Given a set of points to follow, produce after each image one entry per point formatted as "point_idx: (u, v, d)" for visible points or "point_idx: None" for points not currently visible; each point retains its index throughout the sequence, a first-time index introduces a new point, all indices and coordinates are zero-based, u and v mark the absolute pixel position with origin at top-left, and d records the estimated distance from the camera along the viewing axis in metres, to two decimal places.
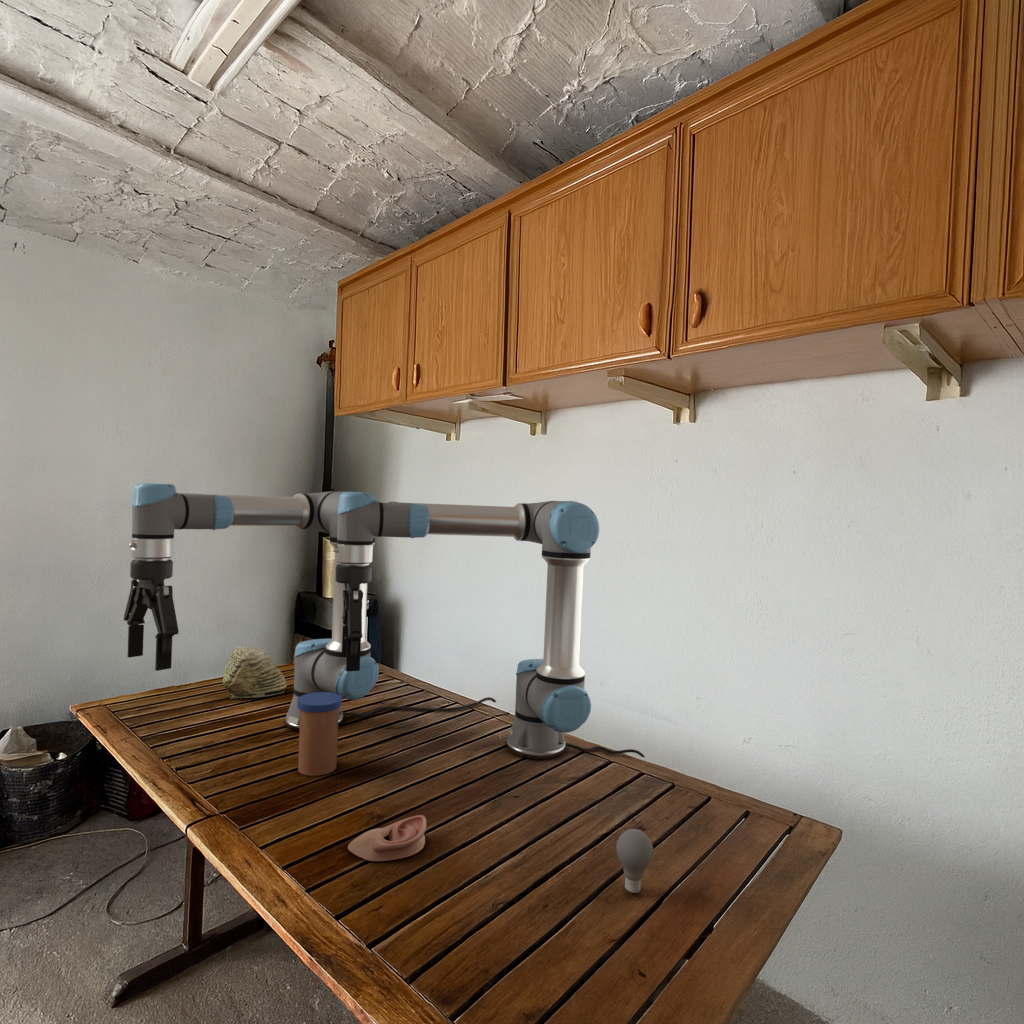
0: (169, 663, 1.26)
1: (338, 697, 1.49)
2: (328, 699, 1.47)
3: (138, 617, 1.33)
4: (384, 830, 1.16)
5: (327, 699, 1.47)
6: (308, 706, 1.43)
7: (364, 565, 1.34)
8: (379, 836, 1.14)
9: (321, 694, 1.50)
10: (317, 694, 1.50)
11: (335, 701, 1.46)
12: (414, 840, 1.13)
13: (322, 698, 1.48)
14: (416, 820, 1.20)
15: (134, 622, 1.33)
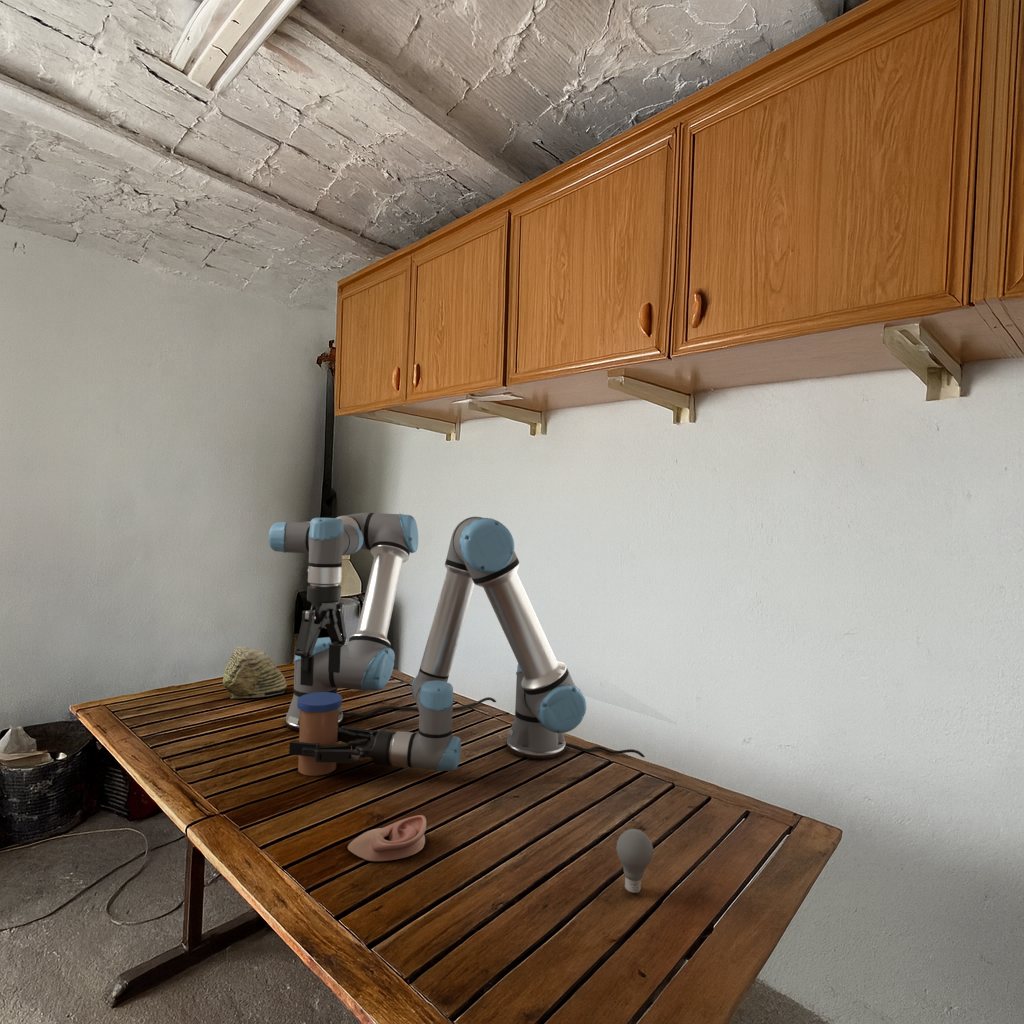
0: (309, 681, 1.41)
1: (338, 697, 1.49)
2: (328, 699, 1.47)
3: (334, 637, 1.52)
4: (384, 830, 1.16)
5: (327, 699, 1.47)
6: (308, 706, 1.43)
7: None
8: (379, 836, 1.14)
9: (321, 694, 1.50)
10: (317, 694, 1.50)
11: (335, 701, 1.46)
12: (414, 840, 1.13)
13: (322, 698, 1.48)
14: (416, 820, 1.20)
15: (335, 641, 1.53)
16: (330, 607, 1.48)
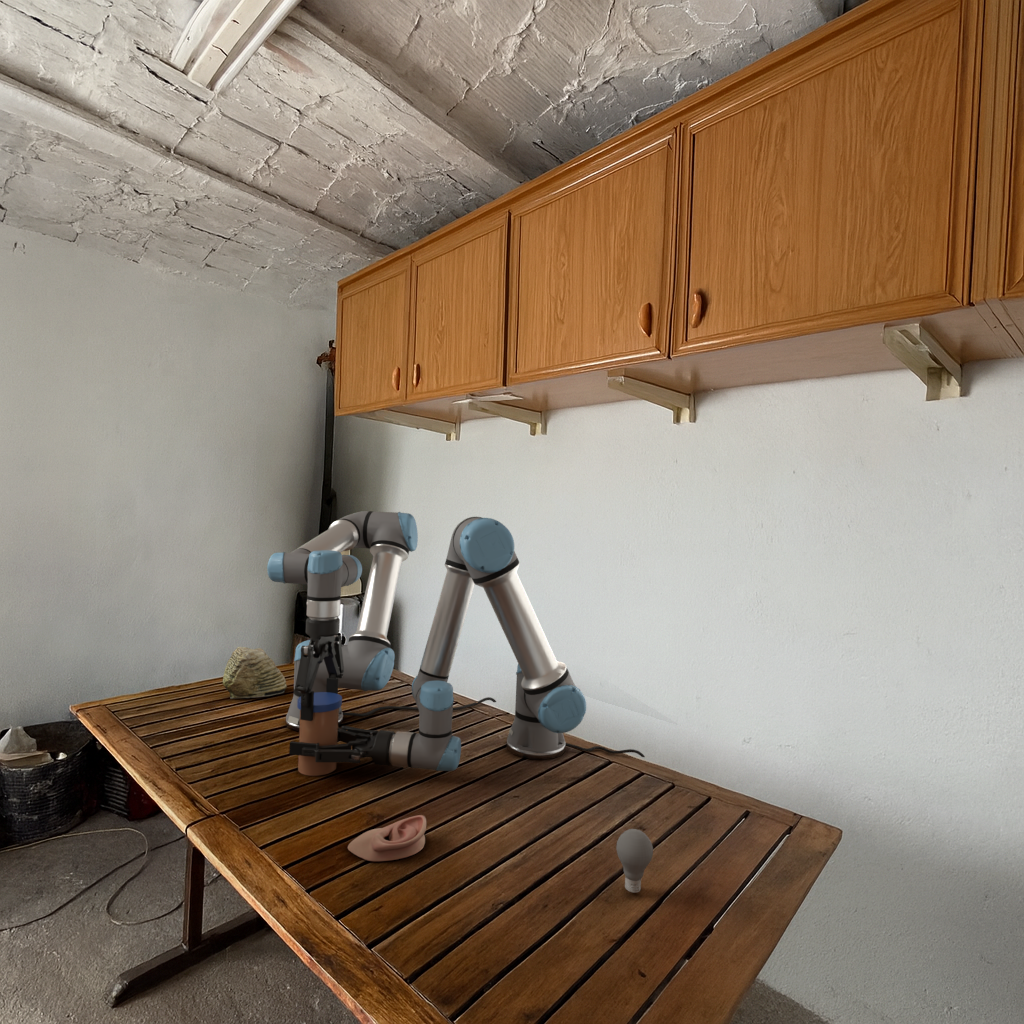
0: (309, 716, 1.42)
1: (338, 697, 1.49)
2: (328, 699, 1.47)
3: (331, 670, 1.52)
4: (384, 830, 1.16)
5: (327, 699, 1.47)
6: None
7: None
8: (379, 836, 1.14)
9: (321, 694, 1.50)
10: (317, 694, 1.50)
11: (335, 701, 1.46)
12: (414, 840, 1.13)
13: (322, 698, 1.48)
14: (416, 820, 1.20)
15: (332, 675, 1.53)
16: (329, 640, 1.48)
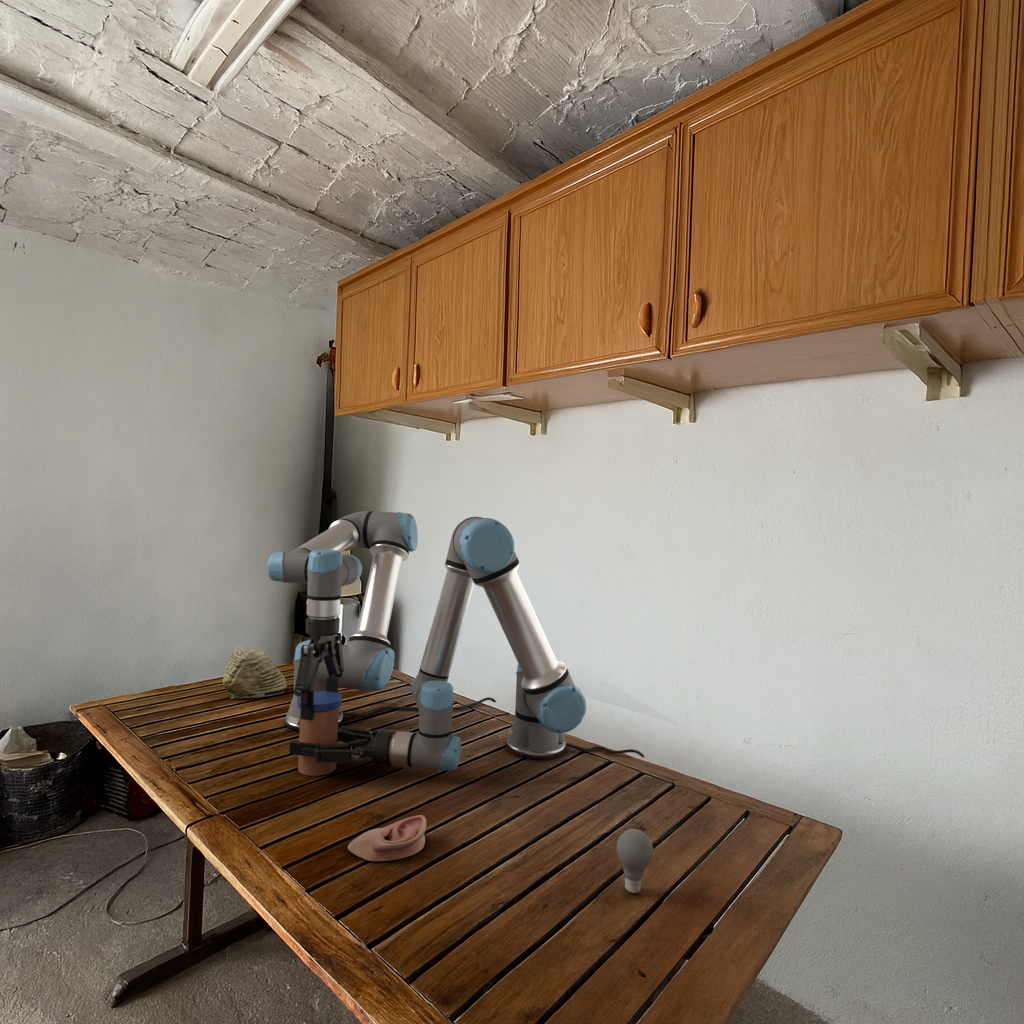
0: (309, 715, 1.42)
1: (325, 692, 1.52)
2: (327, 695, 1.49)
3: (331, 669, 1.52)
4: (384, 830, 1.16)
5: (326, 695, 1.49)
6: (334, 703, 1.45)
7: None
8: (379, 836, 1.14)
9: None
10: None
11: (336, 693, 1.51)
12: (414, 840, 1.13)
13: (321, 697, 1.48)
14: (416, 820, 1.20)
15: (332, 674, 1.53)
16: (329, 639, 1.48)
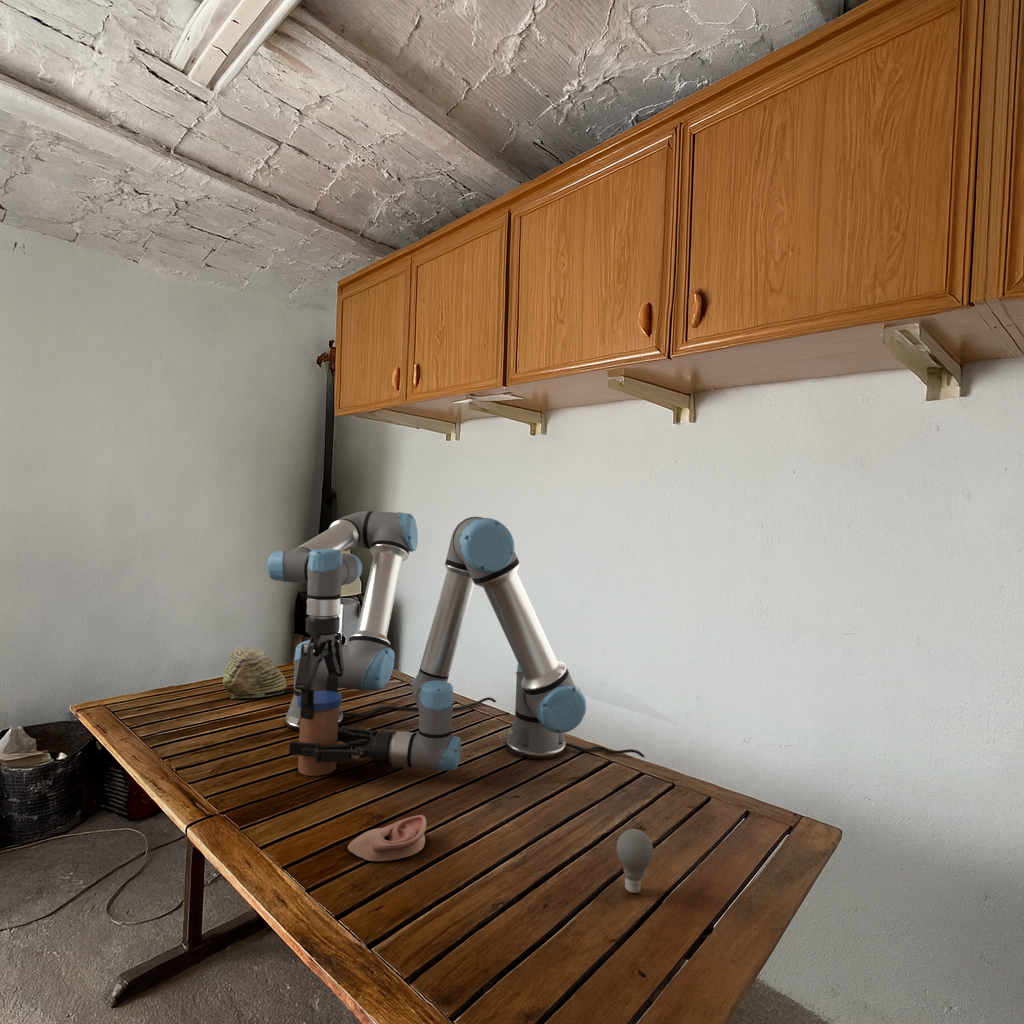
0: (309, 714, 1.42)
1: None
2: (316, 694, 1.49)
3: (331, 669, 1.52)
4: (384, 830, 1.16)
5: (316, 694, 1.49)
6: None
7: None
8: (379, 836, 1.14)
9: None
10: None
11: (316, 691, 1.51)
12: (414, 840, 1.13)
13: (318, 696, 1.48)
14: (416, 820, 1.20)
15: (332, 673, 1.53)
16: (329, 638, 1.48)
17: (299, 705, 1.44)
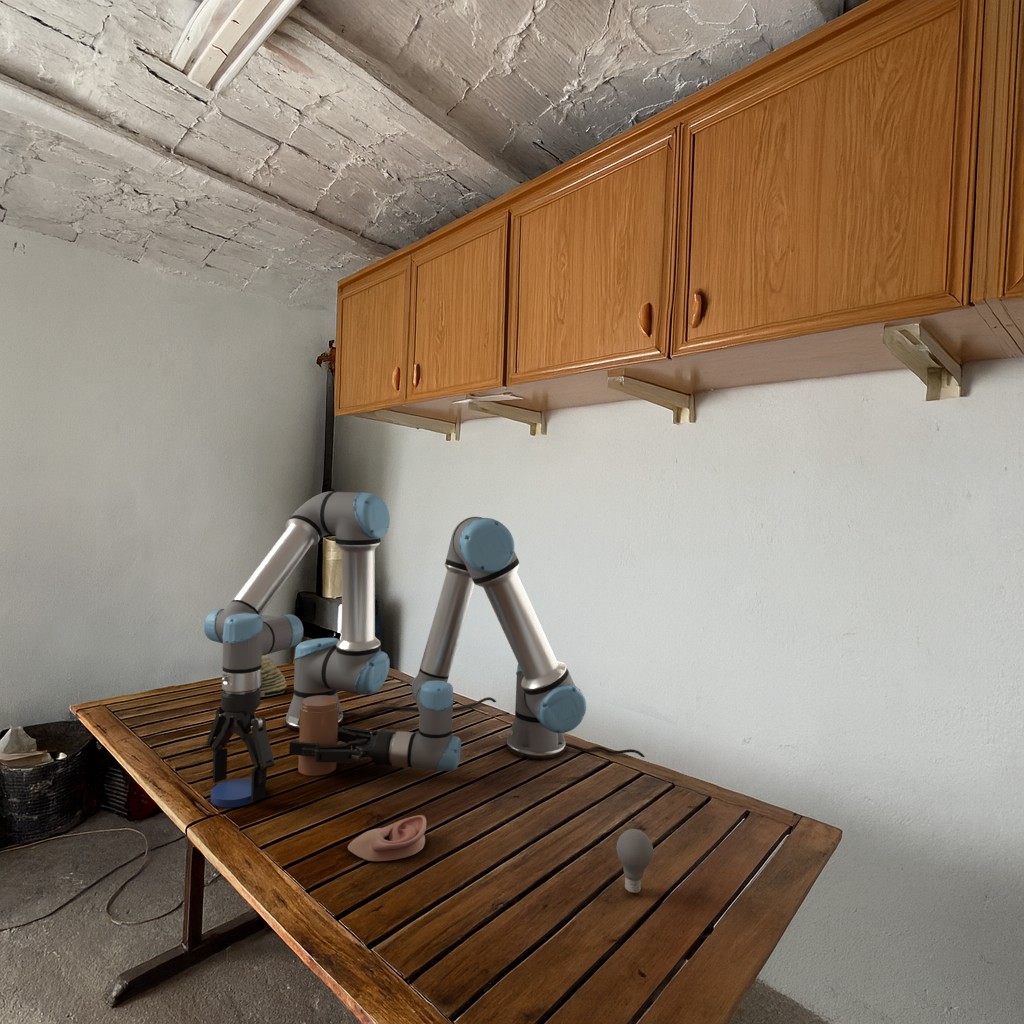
0: (263, 792, 1.30)
1: (217, 795, 1.29)
2: (225, 789, 1.32)
3: (223, 743, 1.36)
4: (384, 830, 1.16)
5: (226, 789, 1.32)
6: None
7: None
8: (379, 836, 1.14)
9: (242, 794, 1.30)
10: (246, 792, 1.31)
11: (214, 789, 1.32)
12: (414, 840, 1.13)
13: (234, 789, 1.32)
14: (416, 820, 1.20)
15: (218, 747, 1.36)
16: None
17: (236, 804, 1.28)
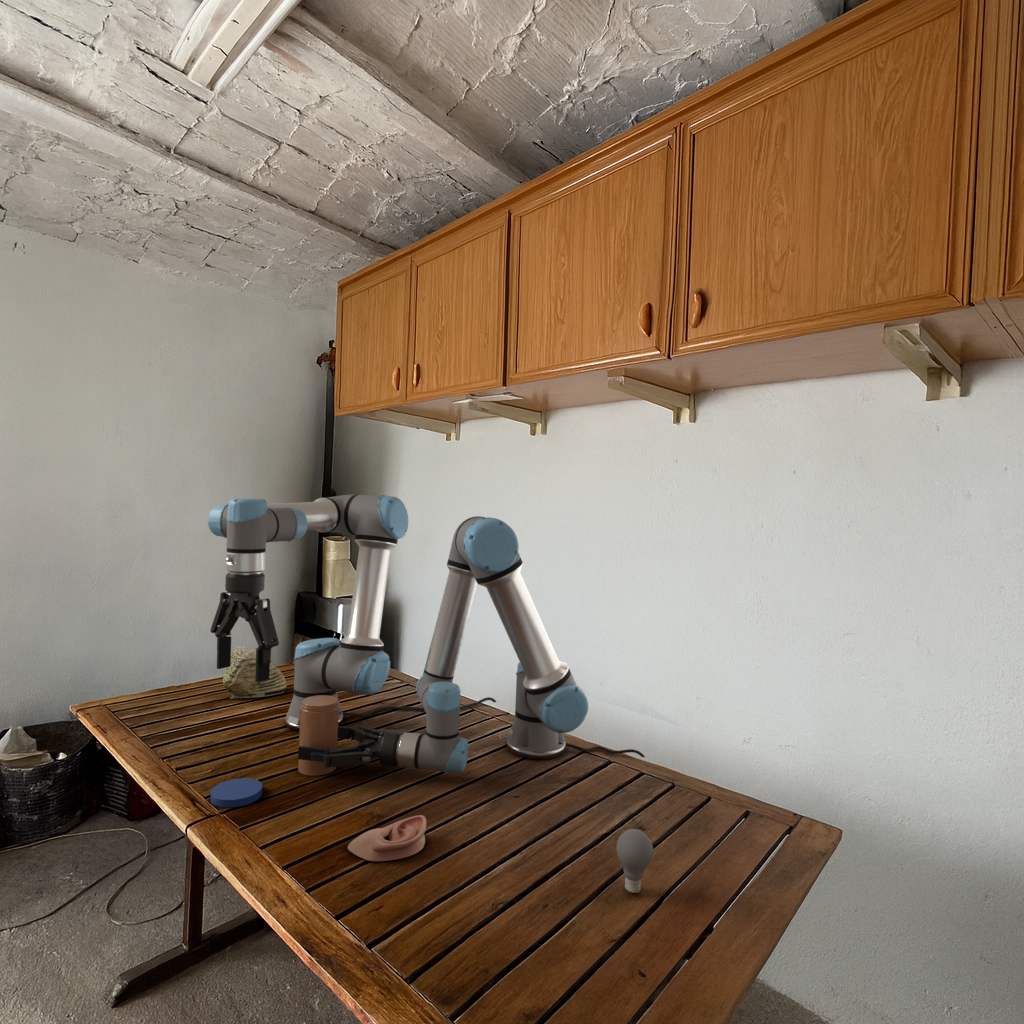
0: (267, 674, 1.29)
1: (217, 795, 1.29)
2: (225, 789, 1.32)
3: (227, 629, 1.35)
4: (384, 830, 1.16)
5: (226, 789, 1.32)
6: None
7: None
8: (379, 836, 1.14)
9: (242, 794, 1.30)
10: (246, 792, 1.31)
11: (214, 789, 1.32)
12: (414, 840, 1.13)
13: (234, 789, 1.32)
14: (416, 820, 1.20)
15: (222, 634, 1.36)
16: None
17: (236, 804, 1.28)
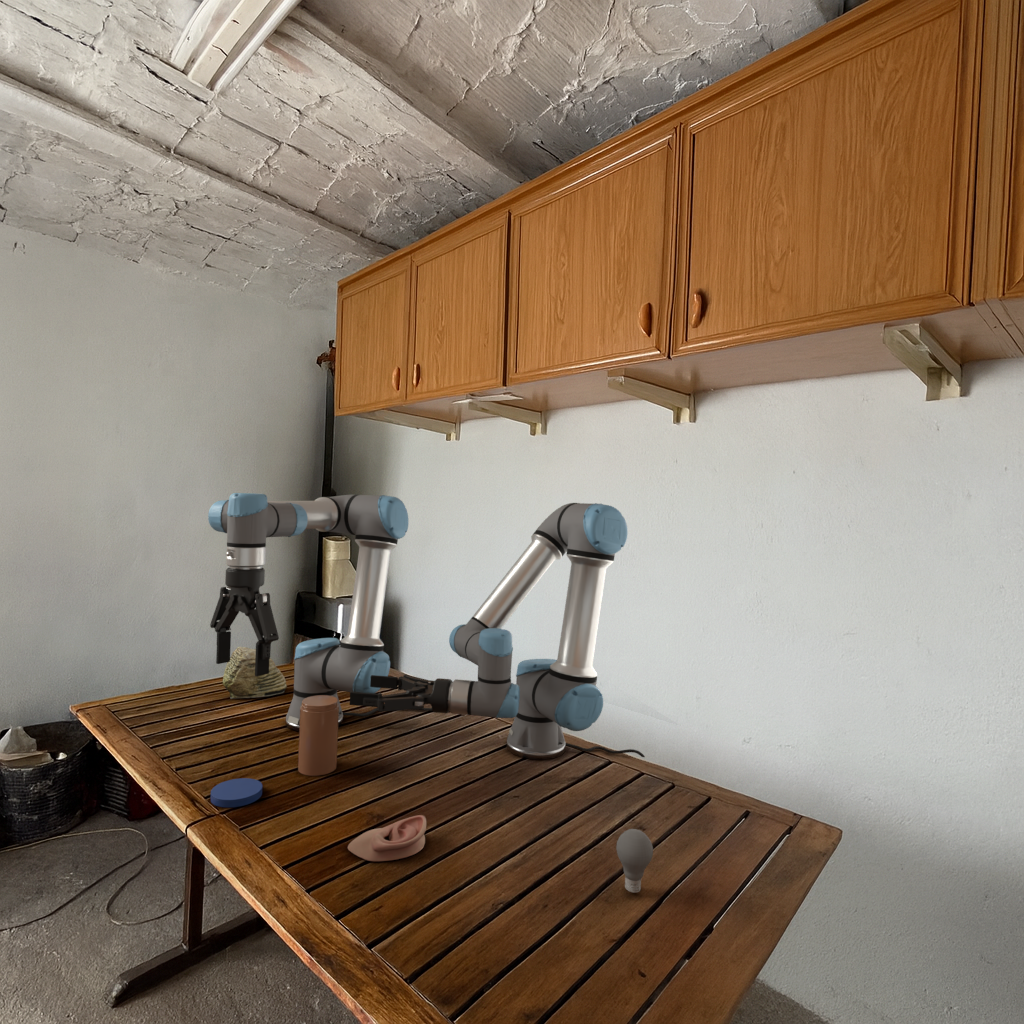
0: (267, 668, 1.29)
1: (217, 795, 1.29)
2: (225, 789, 1.32)
3: (227, 624, 1.35)
4: (384, 830, 1.16)
5: (226, 789, 1.32)
6: None
7: None
8: (379, 836, 1.14)
9: (242, 794, 1.30)
10: (246, 792, 1.31)
11: (214, 789, 1.32)
12: (414, 840, 1.13)
13: (234, 789, 1.32)
14: (416, 820, 1.20)
15: (222, 629, 1.36)
16: None
17: (236, 804, 1.28)
